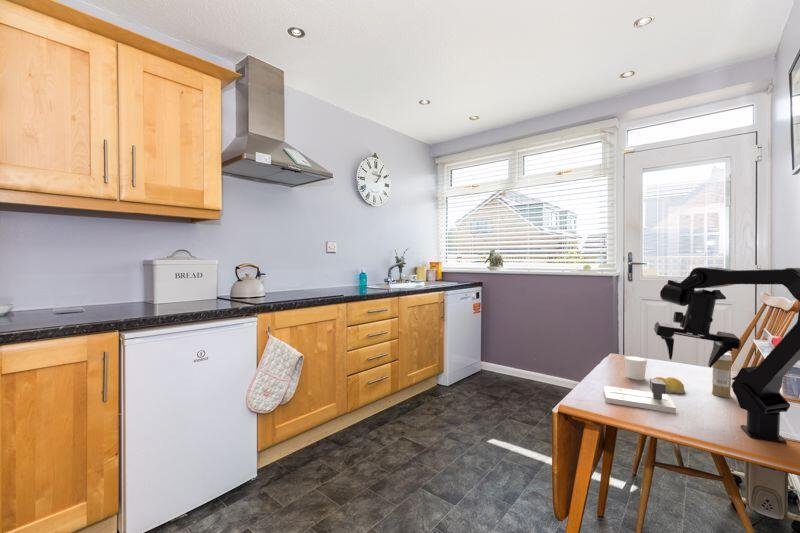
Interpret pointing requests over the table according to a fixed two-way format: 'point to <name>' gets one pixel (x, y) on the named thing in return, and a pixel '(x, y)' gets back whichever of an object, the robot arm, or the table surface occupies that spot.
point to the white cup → (635, 367)
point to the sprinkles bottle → (722, 376)
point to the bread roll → (672, 385)
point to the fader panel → (638, 399)
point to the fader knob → (657, 388)
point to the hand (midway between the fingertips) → (689, 362)
